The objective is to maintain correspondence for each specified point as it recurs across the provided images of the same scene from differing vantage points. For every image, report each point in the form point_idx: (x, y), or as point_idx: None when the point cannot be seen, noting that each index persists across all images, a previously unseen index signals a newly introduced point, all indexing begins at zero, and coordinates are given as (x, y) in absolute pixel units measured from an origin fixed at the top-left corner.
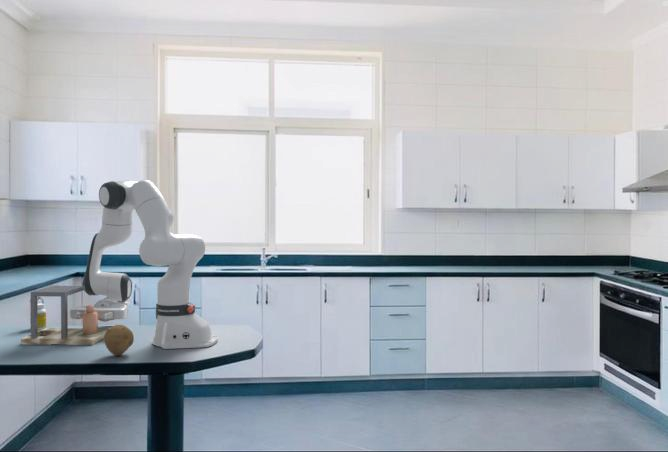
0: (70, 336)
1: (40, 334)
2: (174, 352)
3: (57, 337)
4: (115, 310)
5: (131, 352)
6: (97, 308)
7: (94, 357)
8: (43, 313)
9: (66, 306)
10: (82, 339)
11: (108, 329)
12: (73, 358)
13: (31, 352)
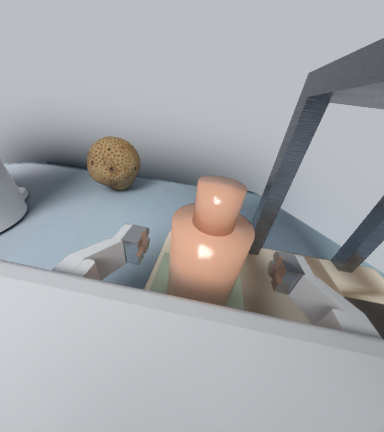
0: (247, 266)
1: None
2: (24, 182)
3: None
4: (22, 264)
5: (95, 194)
6: (224, 404)
7: (155, 190)
8: None
9: (282, 150)
10: None
11: (131, 145)
12: (183, 192)
13: None
